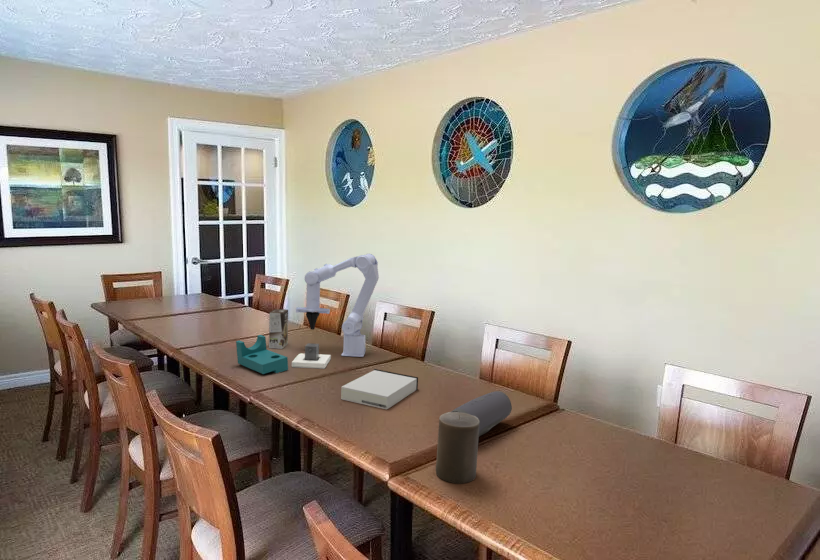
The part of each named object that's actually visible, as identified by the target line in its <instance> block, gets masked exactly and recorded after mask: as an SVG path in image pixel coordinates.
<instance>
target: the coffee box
mask: <svg viewBox="0 0 820 560" xmlns="http://www.w3.org/2000/svg"><path fill="white" fill-rule="evenodd" d="M268 318H269V322H268V325H269V326H268V327H269V328H268V330H269V333H268V335H269V336H268V338H269V339H268V348H269V349H279V350H281V349H282V350H283V349H284V348H285V347H286V346H287V345H288V344H289V343H288V341H289V337H288V336H289V309H285V308H283V309H281V308H280V309H279V308H277V309H273V310H271V311H270V312H269V317H268Z"/></svg>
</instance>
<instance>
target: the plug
mask: <svg viewBox="0 0 820 560" xmlns="http://www.w3.org/2000/svg"><path fill="white" fill-rule="evenodd" d="M319 349H320V343H309V342H307V343H306V344H305V346H304V354H305V360H311V361H318V360H319V353H320V351H319Z"/></svg>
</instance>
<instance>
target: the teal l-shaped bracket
mask: <svg viewBox="0 0 820 560" xmlns="http://www.w3.org/2000/svg"><path fill="white" fill-rule="evenodd" d="M266 339H267V338H266V336H265V335H262V334H259V335H257V337H256V341H255V343H254V344H253V345H251V346H250V347H247V346H246V345H245V342H244V341H242V340H236V341H235V347H236V354H237V355H236V357H237V364H238V365H241V366H243V367H245V368H247V369H250V370H252V371H255V372H258V373H260V374H262V375H265V374H268V373H271V372H272V373H275V374H279V372H280V373H282V372H286V371H289V362H288V361H289V360H288V359H289V358H288V356H285V355H283V354H280V353H277V352H275V351H271V350H270V349H267V341H266Z"/></svg>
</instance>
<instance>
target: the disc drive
mask: <svg viewBox="0 0 820 560" xmlns="http://www.w3.org/2000/svg"><path fill="white" fill-rule="evenodd" d="M418 387H419V377H418V376H413V375H407V374H402V373H396V372H392V371H388V370H383V369H377V368H374V369H373V370H372V371H370V372H367V373H366V374H364V375H361V376H360V377H358V378H356V379H354V380H352V381H350V382H348V383H346V384H344V385H342V386H341V387H340V388H341V390H340V395H341V396H340V399H341V400H343V401H348V402H352V403H355V404H360V405H366V406H369V407H374V408H378V409H383V410H389V409H390V408H391V407H393V406H394V405H396V404H398V403H399V402H400V401H402V400H403V399H406V397H407V396H409V395H411V394H412V393H414V392H416V391H418V389H419V388H418Z"/></svg>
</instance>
